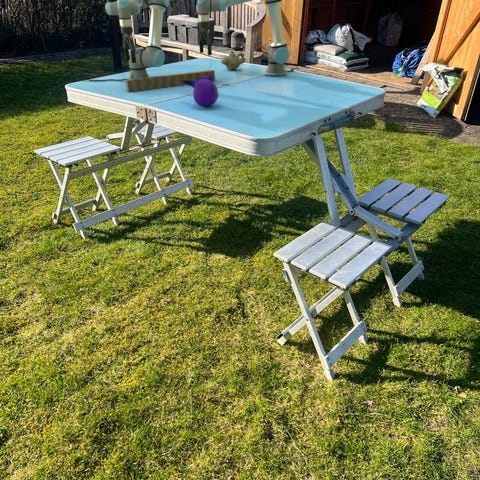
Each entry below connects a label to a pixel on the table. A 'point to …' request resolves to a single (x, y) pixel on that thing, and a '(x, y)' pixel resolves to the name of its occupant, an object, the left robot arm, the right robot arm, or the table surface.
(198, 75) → the bar
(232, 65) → the teapot
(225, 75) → the table surface
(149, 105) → the table surface
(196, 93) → the toy
